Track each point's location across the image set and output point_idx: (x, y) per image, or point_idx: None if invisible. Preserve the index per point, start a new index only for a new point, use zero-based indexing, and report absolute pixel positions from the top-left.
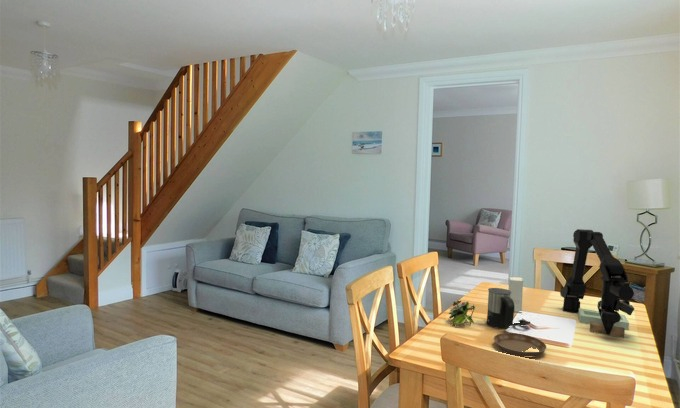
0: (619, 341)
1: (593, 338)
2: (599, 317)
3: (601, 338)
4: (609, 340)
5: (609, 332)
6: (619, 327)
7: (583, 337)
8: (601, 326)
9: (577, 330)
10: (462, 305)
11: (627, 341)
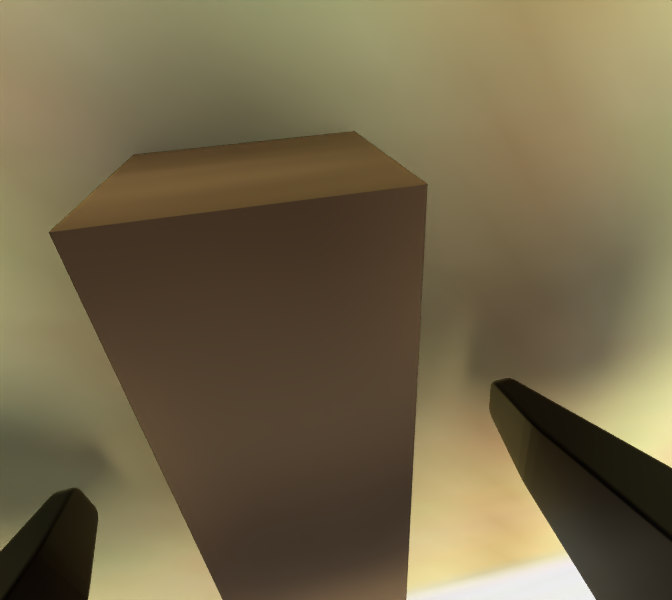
0: (619, 192)
1: None
2: None
3: (576, 400)
4: (622, 318)
5: (548, 410)
6: (199, 360)
7: None
8: (403, 566)
9: (416, 580)
10: None
11: (558, 41)
